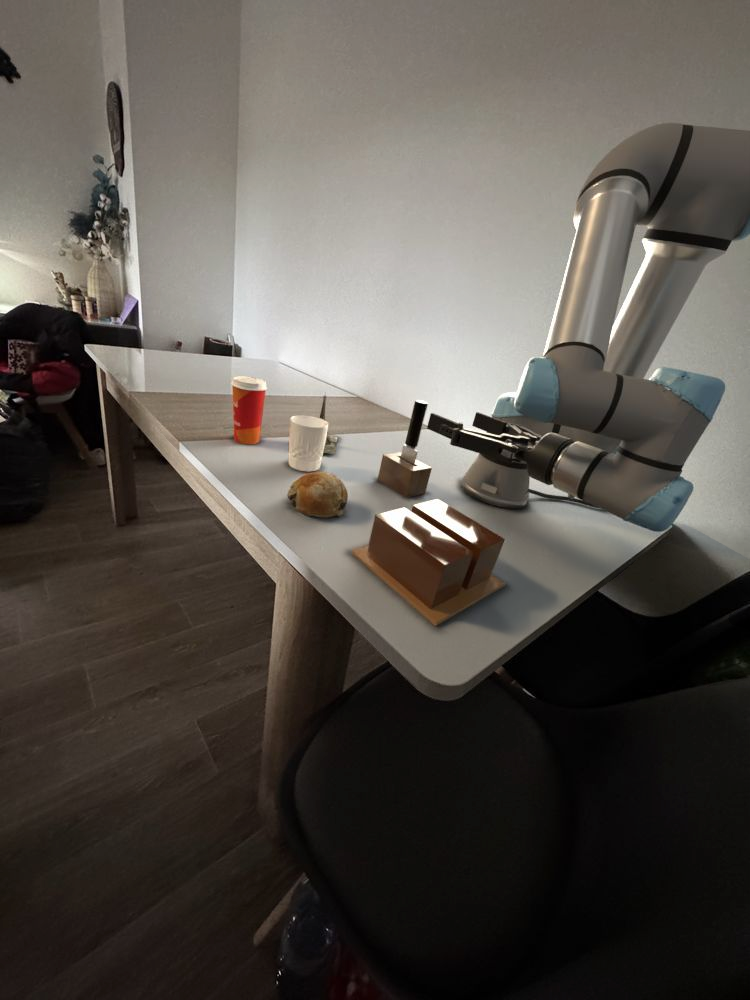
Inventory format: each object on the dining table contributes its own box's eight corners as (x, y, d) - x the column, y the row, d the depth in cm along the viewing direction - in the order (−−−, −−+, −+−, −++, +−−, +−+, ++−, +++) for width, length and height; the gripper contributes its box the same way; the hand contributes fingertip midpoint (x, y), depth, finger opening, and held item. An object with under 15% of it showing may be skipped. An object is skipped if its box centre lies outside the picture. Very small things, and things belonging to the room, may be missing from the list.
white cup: (319, 475, 82) (326, 429, 78) (282, 468, 81) (286, 422, 77) (324, 462, 89) (330, 419, 85) (290, 456, 88) (294, 412, 84)
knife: (411, 489, 85) (433, 404, 77) (403, 491, 83) (424, 404, 75) (399, 481, 87) (418, 398, 79) (390, 483, 85) (409, 398, 77)
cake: (503, 586, 59) (521, 544, 55) (435, 626, 48) (452, 577, 45) (422, 530, 69) (432, 492, 66) (351, 553, 59) (360, 509, 55)
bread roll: (322, 540, 67) (348, 508, 63) (273, 504, 66) (297, 470, 62) (338, 515, 76) (362, 486, 72) (295, 482, 75) (317, 451, 71)
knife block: (425, 493, 84) (432, 467, 82) (405, 497, 80) (412, 471, 78) (396, 476, 90) (402, 451, 87) (377, 479, 86) (382, 454, 83)
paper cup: (236, 432, 95) (238, 373, 89) (267, 438, 96) (271, 380, 90) (224, 442, 88) (225, 379, 82) (257, 448, 89) (261, 386, 83)
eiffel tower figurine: (300, 431, 105) (305, 381, 100) (337, 437, 107) (345, 388, 101) (292, 450, 92) (298, 393, 86) (335, 456, 93) (344, 401, 88)
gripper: (512, 499, 52) (402, 443, 65) (585, 476, 68) (485, 435, 82) (533, 446, 49) (413, 398, 62) (603, 435, 65) (496, 400, 78)
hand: (453, 419), depth 72 cm, fingers open, 13 cm apart
